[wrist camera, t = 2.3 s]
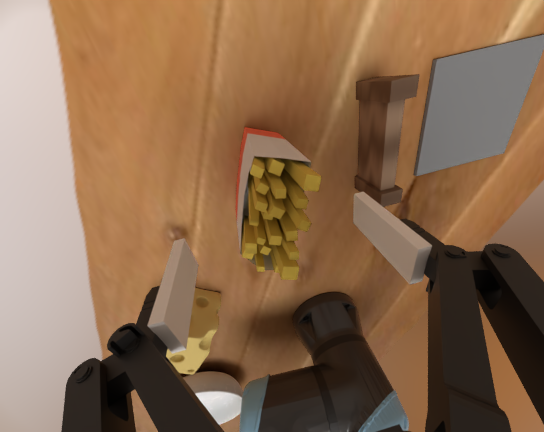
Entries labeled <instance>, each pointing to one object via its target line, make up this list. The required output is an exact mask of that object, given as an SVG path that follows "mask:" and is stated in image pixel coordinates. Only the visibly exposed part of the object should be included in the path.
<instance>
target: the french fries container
mask: <svg viewBox="0 0 544 432" xmlns="http://www.w3.org/2000/svg"><path fill="white" fill-rule="evenodd" d="M310 166H311V161H310V160H309V159H307V158H306V157H305V156H304V155H303V154H302V153H301V152H299V151H298V150H297V149H296V148H295V147H294V146H293V145H291V144H290V143H289V142H288V141H287V140H286V139H285V138H283V137H282V136H281V135H280V134H279V133H277V132H271V131H264V130H258V129H252V128H246V127H245V128H244V133H243V138H242V143H241V150H240V159H239V168H238V177H237V190H236V218H237V228H238V237H239V246H240V254H241V255H242V257H244V258H247V259H248V260H249V261H251V262H252V263H253V264H255V265H256V268H257V272H264V270H274V272H276V273H280V277H281V279H283V280H297V276H298V271H299V266H298V264H297V262H296V260H298V259H299V251H298V249H297V247H296V245H295V243H294V241H297V240H298V232H297V229H299V230H302V231H305V232H307V231H308V229H309V227H310V225H311V222H310V220H309V219H308V217H307V216H306V215H305V213H304V212H303V210H302V209H305V210H306V207H307V204H308V201H309V200H308V199H307V197H306V195H305V194H304V190H308V191H316V192H318V191H319V186H320V181H321V176H320V175H319V174H317V173H316V172H315V171H313V170H312V169H311V168H310ZM296 227H297V228H296Z"/></svg>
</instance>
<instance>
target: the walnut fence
mask: <svg viewBox="0 0 544 432" xmlns="http://www.w3.org/2000/svg"><path fill="white" fill-rule="evenodd" d="M418 81H419V74H418V75H403V76H387V77H376V78H372V79H368V80H364V81H359V82H356V100H360V104H359V148H358V176H355V188H356V189H357V190H358V191H360V192H365V193H366V194H367V195H368V196H370V197H371V198H372V199H373V200H375V201H376V202H377V203H379V204H380V205H381V206H382V207H384V206H388V205H392V204H396V203H399V202H401V198H402V191H403V189H402V188H400V187H398V186H397V185H395V177H396V169H397V161H398V153H399V144H400V136H401V128H402V120H403V112H404V103H405V99H408V98H412V97H416V95H417V88H418Z"/></svg>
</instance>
